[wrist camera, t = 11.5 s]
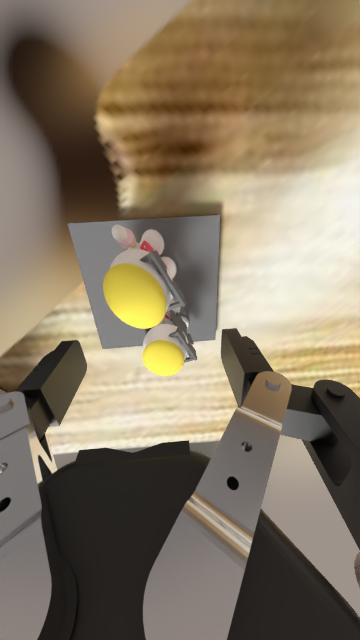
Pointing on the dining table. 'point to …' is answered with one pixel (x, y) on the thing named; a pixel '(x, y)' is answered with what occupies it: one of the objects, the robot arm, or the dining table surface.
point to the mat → (179, 244)
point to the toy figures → (149, 300)
